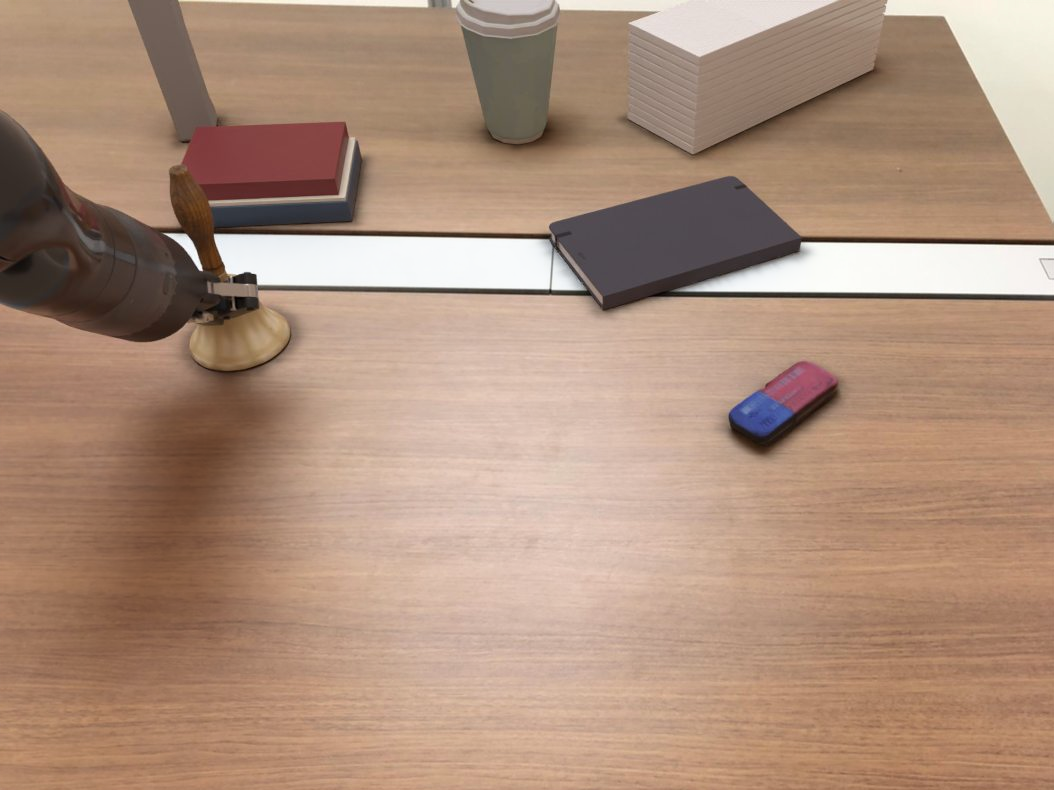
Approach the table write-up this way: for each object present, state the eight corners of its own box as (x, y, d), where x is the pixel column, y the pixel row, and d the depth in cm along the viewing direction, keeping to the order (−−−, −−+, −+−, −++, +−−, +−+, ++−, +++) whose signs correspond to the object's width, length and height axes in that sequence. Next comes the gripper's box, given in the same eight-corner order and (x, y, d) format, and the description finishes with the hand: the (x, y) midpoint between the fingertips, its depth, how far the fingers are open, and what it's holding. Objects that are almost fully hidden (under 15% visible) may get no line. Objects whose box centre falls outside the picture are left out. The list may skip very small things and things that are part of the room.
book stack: (352, 221, 92) (342, 181, 89) (184, 229, 91) (168, 188, 88) (362, 159, 100) (353, 120, 97) (208, 165, 99) (194, 125, 95)
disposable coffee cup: (531, 100, 110) (522, -37, 99) (584, 137, 104) (581, -4, 93) (453, 125, 105) (434, -15, 94) (503, 166, 100) (489, 22, 89)
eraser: (805, 366, 79) (809, 349, 78) (844, 389, 77) (848, 372, 76) (718, 429, 74) (721, 412, 72) (758, 456, 72) (761, 439, 70)
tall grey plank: (218, 117, 105) (132, -139, 87) (216, 139, 102) (127, -122, 84) (183, 121, 105) (89, -136, 86) (180, 143, 102) (83, -119, 83)
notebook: (602, 310, 84) (800, 250, 90) (602, 296, 82) (802, 237, 89) (546, 237, 91) (732, 187, 98) (545, 223, 90) (734, 173, 97)
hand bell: (192, 317, 82) (121, 148, 70) (290, 304, 83) (236, 136, 71) (187, 379, 77) (108, 207, 65) (291, 363, 78) (233, 193, 66)
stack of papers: (808, 41, 122) (821, -48, 114) (873, 69, 117) (892, -22, 109) (627, 119, 107) (628, 22, 99) (692, 155, 102) (699, 56, 94)
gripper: (216, 208, 58) (294, 261, 75) (-9, 217, 57) (123, 269, 74) (226, 329, 58) (302, 354, 75) (3, 341, 57) (132, 364, 74)
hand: (213, 312), depth 75 cm, fingers closed
